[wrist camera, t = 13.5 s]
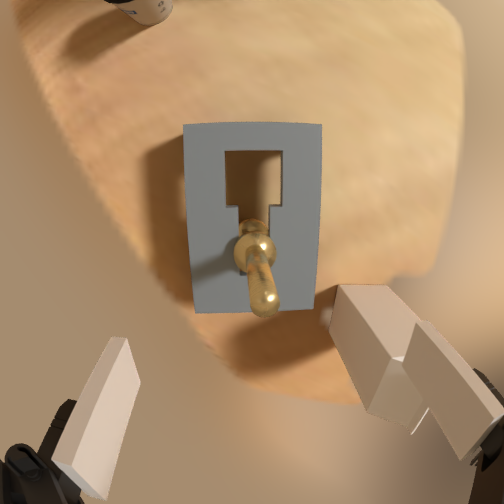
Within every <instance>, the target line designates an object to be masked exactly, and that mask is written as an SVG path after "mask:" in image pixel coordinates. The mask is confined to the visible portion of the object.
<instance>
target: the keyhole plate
mask: <svg viewBox="0 0 504 504" xmlns="http://www.w3.org/2000/svg"><path fill="white" fill-rule="evenodd" d="M183 143H184V176H185V198H186V215H187V230H188V244H189V256H190V268H191V279H192V289H193V298H194V307H195V313H242V312H252V310H251V307H250V298H249V289H248V279H247V273H246V272H244V271H240V268H239V267H238V266H237V265H236V263H235V260H234V245H235V243H236V241H237V239H238V238H239V221H238V205H226V185H225V151H243V150H279V151H281V201H280V204H273V205H269V229H268V236H269V237H270V238H271V239H272V240H273V242H274V245H275V247H276V251H277V256H276V260H275V262H274V264H273V266H272V267H271V268H270V270H271V273H272V276H273V280H274V283H275V286H276V290H277V293H278V296H279V300H280V307H279V310H278V311H288V310H305V309H313V307H314V296H315V285H316V273H317V259H318V245H319V227H320V206H321V174H322V124H308V123H287V122H221V123H200V124H185V125H183Z"/></svg>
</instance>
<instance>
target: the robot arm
mask: <svg viewBox="0 0 504 504" xmlns="http://www.w3.org/2000/svg"><path fill="white" fill-rule="evenodd" d="M402 367H403V369H404V370H405V372H406V373H407V375H408V376H409V378H410V379H411V381H412V383H413V384H414V386H415V387H416V389H417V390H418V392H419V393H420V395H421V397H422V398H423V400H424V401H425V403H426V404H427V406H428V408H429V409H430V411H431V412H432V414H433V416H434V417H435V419H436V421H437V422H438V424H439V426H440V427H441V429H442V431H443V432H444V434H445V436H446V437H447V439H448V441H449V443H450V444H451V446H452V447H453V449H454V451H455V453H456V455H457V457H458V458H459V460H460V461H461V460H462V459H464V458H466V457H468V456H470V455H472V454H473V453H474V452H475V451H476V449H477V448H478V447H479V446H481V448H482V450H481V451H480V452H479V453H478V455H477V456H476V457H475V458H474V459H473V460H472V461H471V464H470V465H473V464H474V463H475V461H476V460H477V459H478V462H477V463H476V464H475V466H477V468H476V474H475V478H474V483H473V487H472V491H471V495H470V499H469V503H468V504H504V398H503V397H502V396H501V394H500V393H499V392H498V391H497V389H494V386H493V385H492V384H491V383H490V382H489V380H488V379H487V378H486V377H485V375H484V374H483V373H481V372H480V371H478V370H477V369H475V368H474V369H472V368H471V367H470V366H469V365H468V364H467V363H466V361H465V360H464V359H463V358H462V357H461V356H460V355H459V353H458V352H457V351H456V350H455V349H454V348H453V347H452V346H451V345H450V344H449V342H447V340H446V339H445V338H444V337H443V336H442V335H441V334H440V333H439V332H438V330H437V329H436V328H435V327H434V326H433V325H432V324H431V323H430V322H429V321H428V320H426V321H420V322H416V324H415V327H414V330H413V333H412V337H411V340H410V343H409V346H408V349H407V352H406V354H405V357H404V360H403V363H402ZM139 386H140V379H139V376H138V373H137V370H136V367H135V364H134V361H133V357H132V354H131V350H130V347H129V344H128V340H127V338H124V337H123V338H122V337H111V338H110V340H109V342H108V344H107V345H106V347H105V349H104V351H103V353H102V354H101V356H100V358H99V360H98V362H97V364H96V366H95V367H94V370H93V371H92V373H91V375H90V377H89V379H88V381H87V383H86V385H85V387H84V389H83V391H82V393H81V395H80V397H79V399H78V401H75V400H71V399H68V400H67V401H66V402H64V403H63V404H62V405H61V406H60V407H59V409H58V411H57V413H56V415H55V419H53V421H52V423H51V427H49V429H48V431H47V433H46V435H45V437H44V439H43V442H42V444H41V446H40V448H39V450H38V452H37V453H36V452H35V451H34V450H33V449H32V448H31V447H30V446H28V445H26V444H22V443H21V444H15V445H14V446H12V447H10V448H9V449H8V451H7V453H6V455H5V463H3V462H2V461H1V460H0V504H84V502H83V500H82V498H81V497H80V492H81V490H82V491H83V492H85V493H86V494H87V495H88V496H91V497H94V498H97V499H101V500H105V501H106V500H107V497H108V493H109V488H110V484H111V481H112V477H113V473H114V469H115V466H116V462H117V458H118V455H119V451H120V447H121V444H122V440H123V437H124V434H125V431H126V427H127V424H128V421H129V417H130V414H131V411H132V408H133V404H134V402H135V398H136V395H137V392H138V389H139Z"/></svg>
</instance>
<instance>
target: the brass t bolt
mask: <svg viewBox="0 0 504 504" xmlns="http://www.w3.org/2000/svg"><path fill="white" fill-rule="evenodd" d="M276 256H277V251H276V247H275V245H274V242H273V240H272V239H271V238H270V237H269V236H268V228H267V227H266V225H265V224H264V223H263V222H261V221H260V220H257V219H246V220H244V221H242V222H240V223H239V238H238V239H237V241H236V243H235V245H234V260H235V263H236V265H237V266H238V267H239V268H240V269H241V270H242V271H244V272H246V273H247V279H248V289H249V298H250V307H251V310H252V312H253V313H254V314H255V315H257V316H259V317H270V316H272V315H274V314H275V313H276V312H277V311H278V310H279V307H280V300H279V296H278V293H277V290H276V286H275V283H274V280H273V276H272V273H271V270H270V268H271V267H272V266H273V264H274V262H275V260H276Z"/></svg>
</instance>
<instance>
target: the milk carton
mask: <svg viewBox="0 0 504 504" xmlns="http://www.w3.org/2000/svg"><path fill="white" fill-rule="evenodd" d="M420 321H422V320H421V319H419V317H418V316H417V315H416V314H415V313H414V312H413V311H412V310H411V309H410V308H409V307H408V306H407V305H406V304H405V303H404V302H403V301H402V300H401V299H400V298H399V297H398V296H397V295H396V294H395V293H394V292H393V291H392V290H391V289H390V288H389V287H388V286H387V285H338V288H337V293H336V298H335V303H334V308H333V312H332V317H331V321H330V326H329V334H330V336H331V338H332V340H333V342H334V344H335V346H336V348H337V350H338V352H339V354H340V356H341V358H342V360H343V362H344V364H345V366H346V368H347V371H348V373H349V375H350V377H351V379H352V381H353V383H354V385H355V387H356V390H357V392H358V394H359V396H360V398H361V400H362V402H363V405H364V407H365V409H366V411H367V413H369V414H372V415H374V416H377V417H380V418H383V419H385V420H388V421H391V422H393V423H396V424H399V425H402V426H405V427H407V429H408V431H409V433H410V434H413V432H414V431H415V429H416V428H417V427H418V425H419V424H420V422H421V421H422V419H423V417H424V416H425V414H426V413H427V411H428V410H429V408H428V406H427V404H426V403H425V401H424V400H423V398H422V397H421V395H420V393H419V392H418V390H417V389H416V387H415V386H414V384H413V383H412V381H411V379H410V378H409V376H408V375H407V373H406V372H405V370H404V369H403V367H402V363H403V360H404V357H405V354H406V352H407V349H408V346H409V343H410V340H411V337H412V333H413V330H414V327H415V324H416V322H420Z"/></svg>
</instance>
